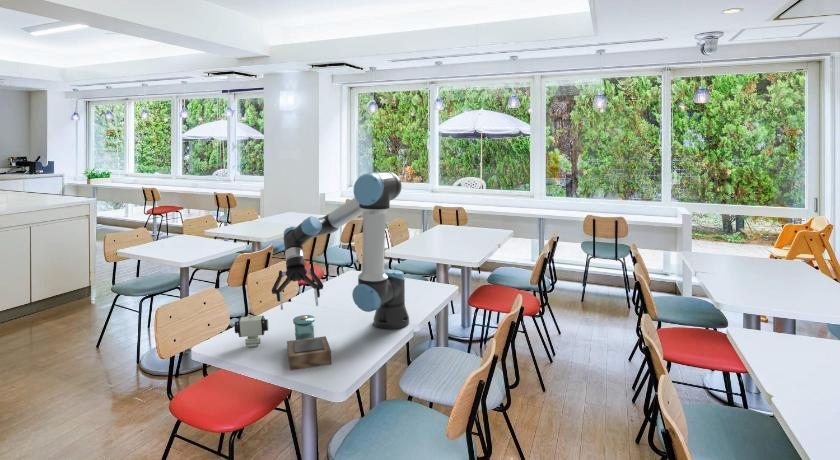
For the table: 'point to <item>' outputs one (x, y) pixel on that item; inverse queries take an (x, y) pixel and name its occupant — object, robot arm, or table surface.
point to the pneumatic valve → (251, 329)
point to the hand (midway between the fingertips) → (299, 306)
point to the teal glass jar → (304, 327)
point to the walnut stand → (309, 353)
